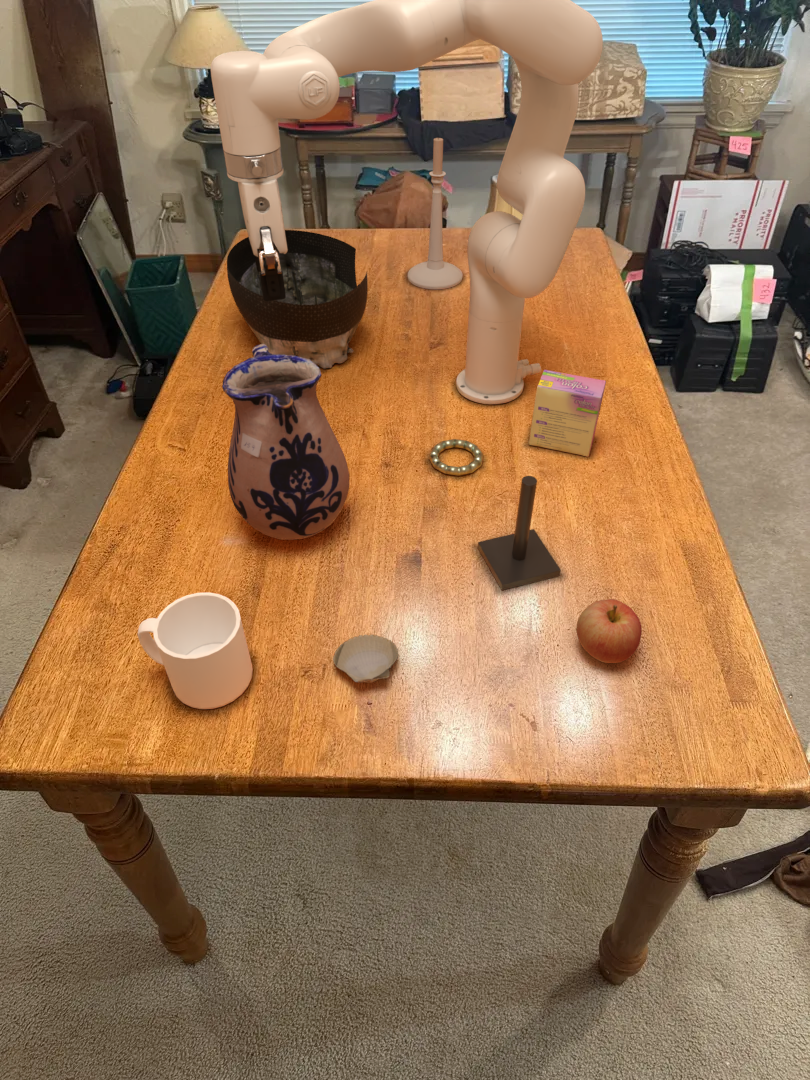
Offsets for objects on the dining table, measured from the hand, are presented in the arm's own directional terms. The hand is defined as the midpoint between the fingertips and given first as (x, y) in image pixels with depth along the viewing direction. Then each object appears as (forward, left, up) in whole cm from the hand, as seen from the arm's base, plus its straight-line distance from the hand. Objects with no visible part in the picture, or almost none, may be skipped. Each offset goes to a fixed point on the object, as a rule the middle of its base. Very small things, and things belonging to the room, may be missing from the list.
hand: (271, 284), depth 113 cm
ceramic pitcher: (+4, +20, -28) cm, 34 cm away
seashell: (+1, +52, -28) cm, 59 cm away
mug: (+21, +47, -28) cm, 58 cm away
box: (-44, +17, -28) cm, 55 cm away
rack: (-25, +41, -28) cm, 55 cm away
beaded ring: (-25, +16, -27) cm, 40 cm away
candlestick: (-45, -50, -28) cm, 73 cm away
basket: (-10, -34, -28) cm, 45 cm away
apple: (-29, +59, -28) cm, 71 cm away
